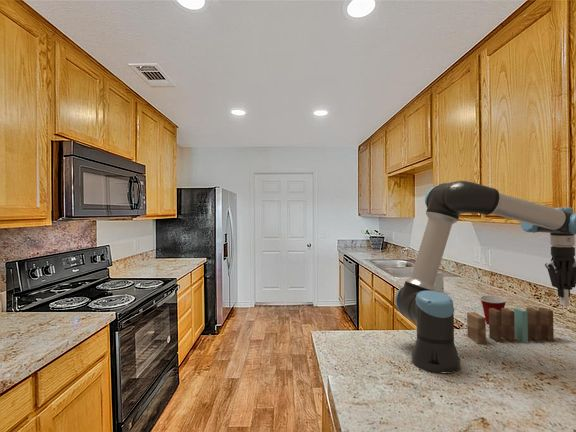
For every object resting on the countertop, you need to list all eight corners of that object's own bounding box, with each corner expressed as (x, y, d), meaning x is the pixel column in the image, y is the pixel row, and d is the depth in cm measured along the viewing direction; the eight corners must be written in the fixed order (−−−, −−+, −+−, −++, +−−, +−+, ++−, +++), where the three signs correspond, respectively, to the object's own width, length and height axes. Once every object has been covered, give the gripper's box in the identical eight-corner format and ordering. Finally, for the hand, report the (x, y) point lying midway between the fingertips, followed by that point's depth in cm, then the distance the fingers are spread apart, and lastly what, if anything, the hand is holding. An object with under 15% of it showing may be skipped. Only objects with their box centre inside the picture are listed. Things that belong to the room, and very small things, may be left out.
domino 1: (496, 342, 132) (496, 311, 132) (489, 337, 137) (488, 308, 137) (501, 342, 132) (501, 311, 132) (494, 337, 137) (493, 308, 137)
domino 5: (548, 341, 132) (547, 311, 132) (539, 337, 137) (538, 307, 137) (553, 341, 132) (553, 310, 132) (544, 337, 137) (543, 307, 137)
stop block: (478, 343, 131) (477, 318, 131) (467, 336, 139) (467, 312, 139) (485, 343, 131) (485, 318, 131) (474, 336, 139) (474, 312, 139)
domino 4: (535, 341, 132) (534, 311, 132) (526, 337, 137) (526, 307, 137) (540, 341, 132) (540, 311, 132) (531, 337, 137) (531, 307, 137)
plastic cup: (477, 325, 153) (477, 298, 153) (481, 318, 161) (481, 293, 161) (506, 329, 146) (505, 301, 146) (508, 323, 155) (508, 296, 155)
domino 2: (509, 342, 132) (509, 311, 132) (501, 337, 137) (501, 308, 137) (514, 342, 132) (514, 311, 132) (506, 337, 137) (506, 307, 137)
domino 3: (519, 337, 137) (518, 307, 137) (527, 341, 132) (527, 311, 132) (514, 337, 137) (513, 307, 137) (522, 342, 132) (522, 311, 132)
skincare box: (435, 297, 203) (434, 273, 203) (426, 295, 209) (426, 271, 209) (444, 296, 207) (444, 271, 207) (436, 294, 213) (435, 270, 213)
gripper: (553, 247, 131) (554, 308, 131) (587, 246, 130) (589, 307, 130) (539, 245, 138) (540, 303, 138) (571, 244, 138) (573, 302, 138)
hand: (564, 305), depth 134 cm, fingers closed
